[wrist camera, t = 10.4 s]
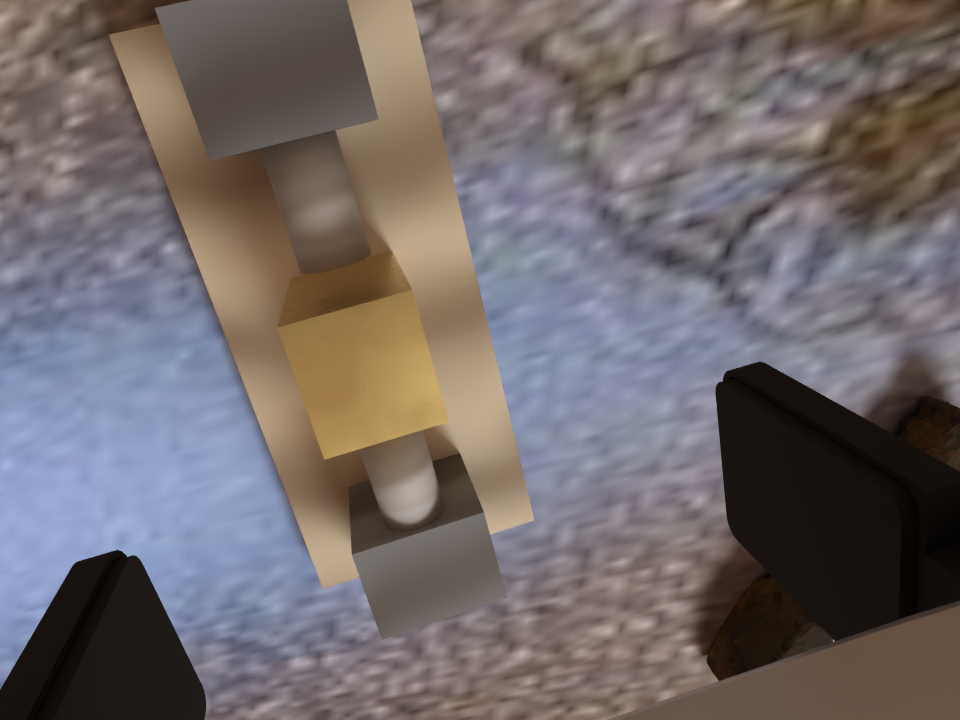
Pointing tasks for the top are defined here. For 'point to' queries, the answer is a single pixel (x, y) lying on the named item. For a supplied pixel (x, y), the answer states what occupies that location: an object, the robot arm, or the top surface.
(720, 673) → the hand tool
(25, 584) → the top surface
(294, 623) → the top surface
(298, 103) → the shaft mount
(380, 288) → the yellow rectangular block
